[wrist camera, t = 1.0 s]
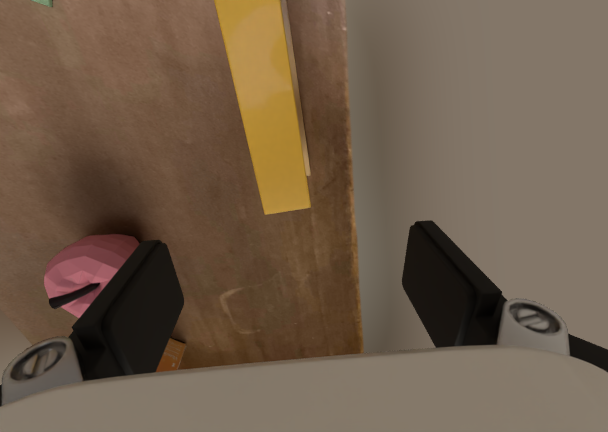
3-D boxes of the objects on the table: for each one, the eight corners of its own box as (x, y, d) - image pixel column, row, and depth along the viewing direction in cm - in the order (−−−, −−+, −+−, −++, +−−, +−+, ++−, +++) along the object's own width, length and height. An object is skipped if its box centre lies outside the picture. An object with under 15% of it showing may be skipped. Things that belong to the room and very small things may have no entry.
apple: (126, 286, 37) (77, 354, 28) (68, 240, 34) (-8, 301, 25) (182, 252, 35) (149, 313, 27) (128, 199, 32) (68, 250, 23)
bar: (218, -17, 17) (205, -34, 14) (275, -26, 17) (273, -45, 14) (266, 198, 23) (264, 215, 20) (307, 192, 23) (311, 207, 20)
